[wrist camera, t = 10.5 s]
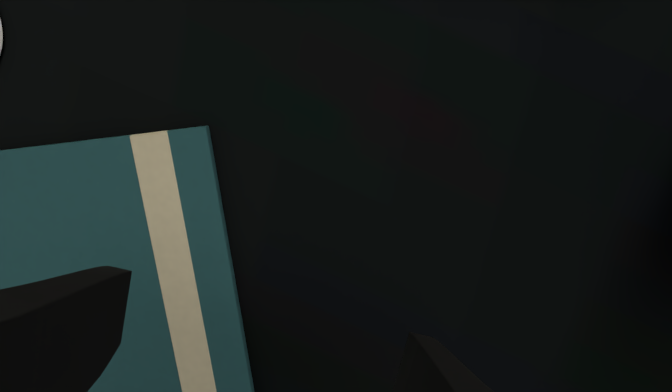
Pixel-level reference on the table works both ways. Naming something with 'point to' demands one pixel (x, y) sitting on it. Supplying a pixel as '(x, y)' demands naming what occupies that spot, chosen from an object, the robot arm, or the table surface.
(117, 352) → the towel
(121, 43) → the table surface
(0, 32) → the chess piece
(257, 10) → the table surface
